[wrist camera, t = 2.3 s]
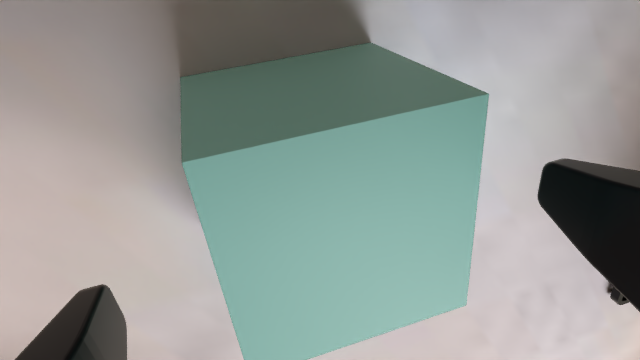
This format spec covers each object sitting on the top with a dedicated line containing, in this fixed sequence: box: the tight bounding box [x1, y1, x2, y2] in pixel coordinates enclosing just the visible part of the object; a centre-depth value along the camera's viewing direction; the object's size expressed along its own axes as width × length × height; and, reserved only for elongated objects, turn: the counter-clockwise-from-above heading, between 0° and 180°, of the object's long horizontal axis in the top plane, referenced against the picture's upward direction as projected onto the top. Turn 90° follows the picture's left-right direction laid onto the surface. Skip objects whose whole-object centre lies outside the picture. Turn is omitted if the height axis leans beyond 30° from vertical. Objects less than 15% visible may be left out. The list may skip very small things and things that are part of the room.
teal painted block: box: [180, 43, 489, 360], centre depth 10 cm, size 5×5×5 cm
